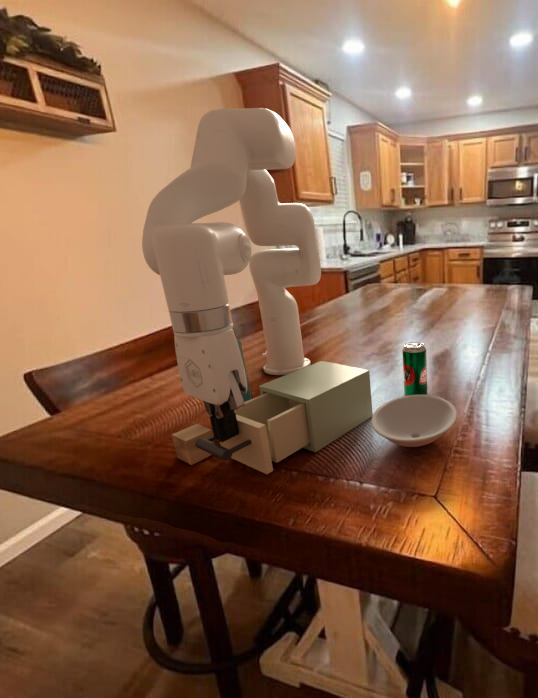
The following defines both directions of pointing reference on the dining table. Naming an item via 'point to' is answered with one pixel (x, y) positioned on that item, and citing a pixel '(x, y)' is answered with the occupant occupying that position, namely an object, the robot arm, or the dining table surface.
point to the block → (191, 443)
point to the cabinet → (327, 398)
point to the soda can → (414, 369)
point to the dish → (414, 419)
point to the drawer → (264, 433)
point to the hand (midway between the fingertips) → (227, 436)
